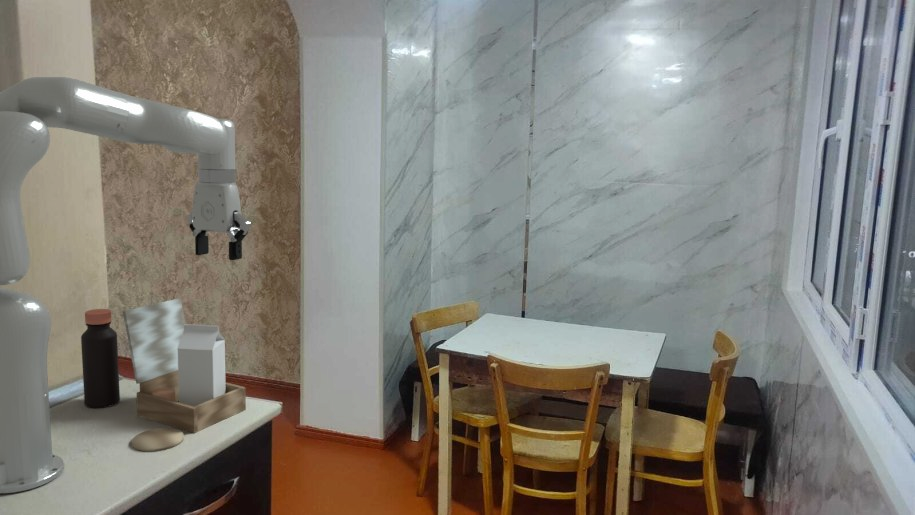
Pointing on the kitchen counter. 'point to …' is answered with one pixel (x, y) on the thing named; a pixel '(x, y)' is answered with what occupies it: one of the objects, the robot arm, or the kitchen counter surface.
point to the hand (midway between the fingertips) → (218, 256)
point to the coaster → (157, 439)
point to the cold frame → (170, 370)
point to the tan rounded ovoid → (165, 393)
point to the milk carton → (201, 364)
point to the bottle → (100, 360)
